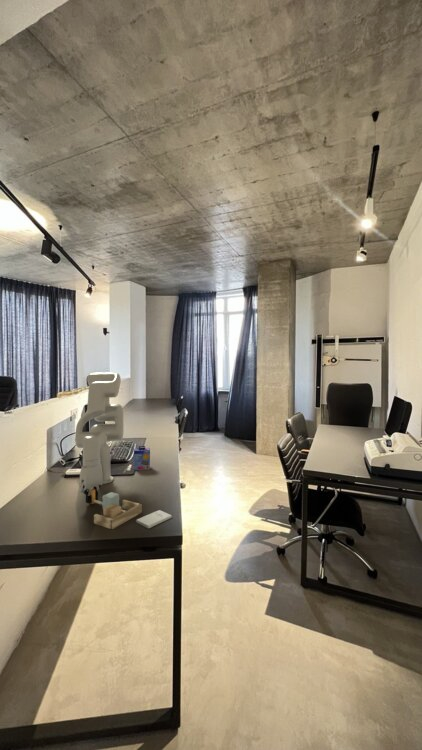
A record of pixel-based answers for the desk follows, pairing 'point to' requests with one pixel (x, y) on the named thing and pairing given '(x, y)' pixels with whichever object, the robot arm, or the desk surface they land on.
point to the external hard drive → (153, 519)
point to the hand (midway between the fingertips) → (91, 501)
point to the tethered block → (106, 499)
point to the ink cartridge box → (141, 458)
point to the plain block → (112, 511)
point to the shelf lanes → (111, 523)
